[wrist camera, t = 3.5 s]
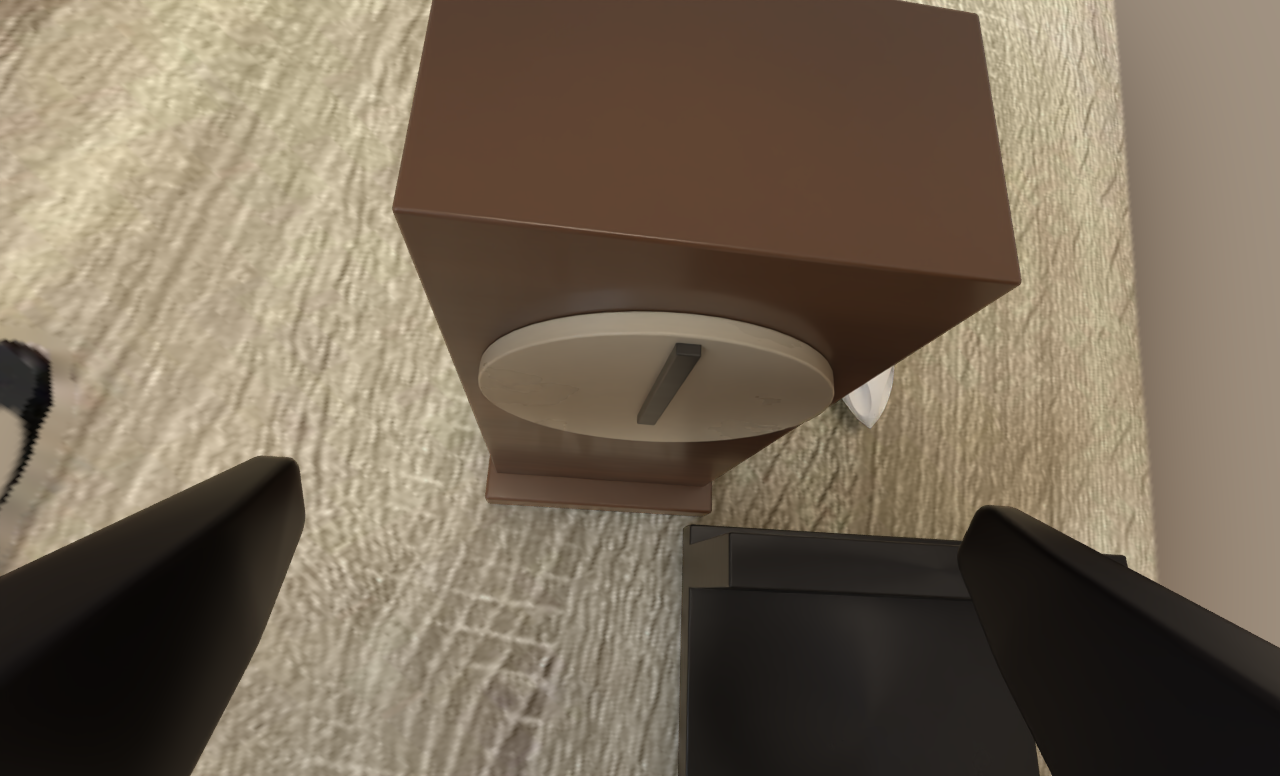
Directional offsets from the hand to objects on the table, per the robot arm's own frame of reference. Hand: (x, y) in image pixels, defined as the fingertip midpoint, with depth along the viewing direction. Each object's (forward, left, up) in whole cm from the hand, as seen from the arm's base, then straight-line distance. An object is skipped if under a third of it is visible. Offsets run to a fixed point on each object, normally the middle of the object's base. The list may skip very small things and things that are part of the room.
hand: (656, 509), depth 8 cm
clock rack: (0, -9, -11) cm, 14 cm away
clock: (+3, +2, -11) cm, 11 cm away
